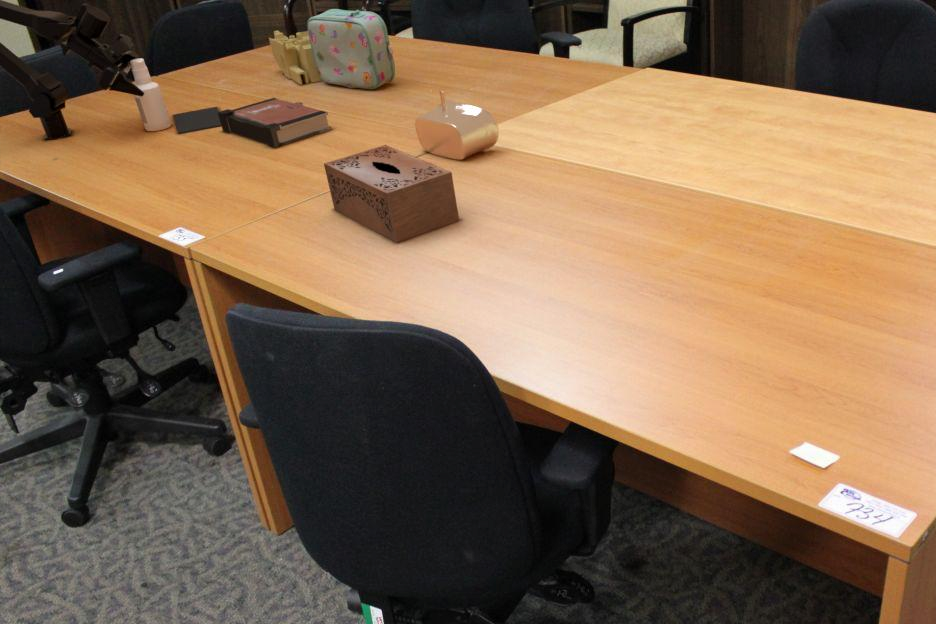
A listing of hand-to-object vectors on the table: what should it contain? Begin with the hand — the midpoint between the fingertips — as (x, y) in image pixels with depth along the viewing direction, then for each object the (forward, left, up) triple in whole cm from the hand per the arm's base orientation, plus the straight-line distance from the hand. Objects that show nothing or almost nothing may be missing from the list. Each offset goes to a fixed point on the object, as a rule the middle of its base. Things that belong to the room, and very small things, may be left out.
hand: (148, 90), depth 259 cm
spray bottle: (0, -1, -10) cm, 10 cm away
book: (+24, +28, -10) cm, 38 cm away
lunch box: (-7, +57, -10) cm, 58 cm away
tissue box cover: (+101, +40, -10) cm, 109 cm away
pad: (0, +10, -10) cm, 14 cm away
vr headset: (+70, +64, -10) cm, 95 cm away
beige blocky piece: (-31, +49, -10) cm, 59 cm away
